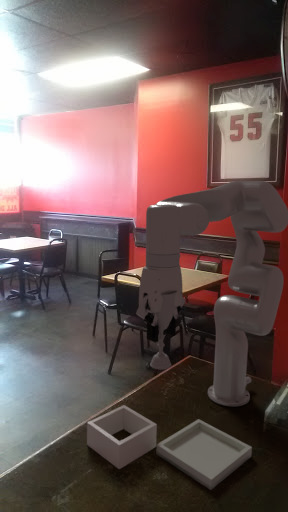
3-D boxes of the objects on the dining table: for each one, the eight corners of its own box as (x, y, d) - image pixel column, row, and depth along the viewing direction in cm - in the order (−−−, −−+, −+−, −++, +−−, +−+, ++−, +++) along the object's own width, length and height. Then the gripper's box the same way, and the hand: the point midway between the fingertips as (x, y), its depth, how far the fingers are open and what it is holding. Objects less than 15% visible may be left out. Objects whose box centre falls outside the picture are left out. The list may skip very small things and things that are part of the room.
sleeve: (123, 425, 109) (124, 404, 108) (156, 446, 100) (156, 424, 99) (87, 444, 100) (87, 422, 99) (119, 469, 92) (119, 445, 91)
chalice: (172, 373, 91) (174, 295, 88) (142, 369, 93) (143, 293, 90) (177, 359, 98) (179, 287, 95) (149, 356, 100) (150, 285, 97)
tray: (198, 427, 109) (198, 419, 108) (251, 456, 97) (251, 447, 97) (156, 454, 97) (156, 444, 97) (210, 490, 86) (211, 479, 86)
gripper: (176, 253, 99) (174, 324, 103) (122, 262, 88) (122, 342, 91) (200, 258, 94) (197, 332, 97) (146, 268, 83) (145, 352, 86)
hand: (161, 336), depth 94 cm, fingers closed on chalice, 4 cm apart
